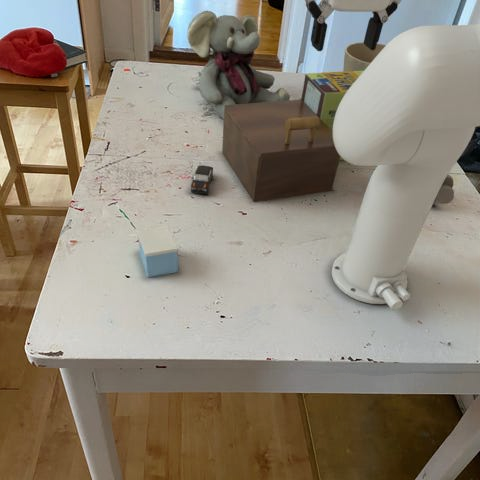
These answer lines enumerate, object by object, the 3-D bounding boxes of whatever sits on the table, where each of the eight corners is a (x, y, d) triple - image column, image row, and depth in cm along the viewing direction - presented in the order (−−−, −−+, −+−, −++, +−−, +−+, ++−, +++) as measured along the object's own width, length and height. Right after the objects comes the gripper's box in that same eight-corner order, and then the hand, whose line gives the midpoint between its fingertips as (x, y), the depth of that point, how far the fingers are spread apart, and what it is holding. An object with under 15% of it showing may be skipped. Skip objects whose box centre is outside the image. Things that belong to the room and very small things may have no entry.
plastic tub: (178, 272, 78) (178, 248, 74) (147, 278, 76) (145, 253, 72) (169, 249, 81) (168, 225, 78) (139, 254, 80) (136, 230, 76)
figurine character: (440, 202, 101) (374, 180, 102) (459, 171, 95) (388, 148, 96) (440, 219, 97) (370, 196, 97) (460, 188, 91) (386, 163, 92)
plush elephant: (297, 113, 122) (312, 22, 107) (232, 134, 112) (238, 36, 96) (231, 77, 135) (236, -8, 120) (167, 93, 124) (163, 1, 109)
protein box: (371, 158, 109) (392, 88, 98) (310, 164, 105) (324, 92, 94) (350, 136, 116) (368, 69, 104) (292, 141, 112) (304, 72, 100)
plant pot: (320, 109, 125) (334, 43, 113) (368, 105, 129) (386, 41, 118) (348, 136, 116) (366, 66, 104) (399, 130, 120) (421, 63, 108)
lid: (345, 148, 90) (352, 120, 87) (260, 157, 85) (263, 128, 81) (300, 102, 103) (304, 76, 99) (224, 108, 98) (225, 81, 94)
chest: (331, 190, 98) (343, 146, 91) (253, 201, 93) (258, 155, 86) (293, 145, 110) (300, 103, 103) (221, 153, 105) (224, 109, 98)
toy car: (188, 194, 93) (188, 157, 87) (200, 164, 101) (200, 128, 95) (208, 197, 93) (209, 160, 87) (218, 166, 101) (219, 131, 95)
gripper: (327, -85, 62) (303, 57, 74) (439, -78, 66) (399, 55, 78) (305, -95, 66) (287, 40, 79) (412, -88, 71) (378, 39, 83)
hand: (343, 47), depth 79 cm, fingers open, 9 cm apart
